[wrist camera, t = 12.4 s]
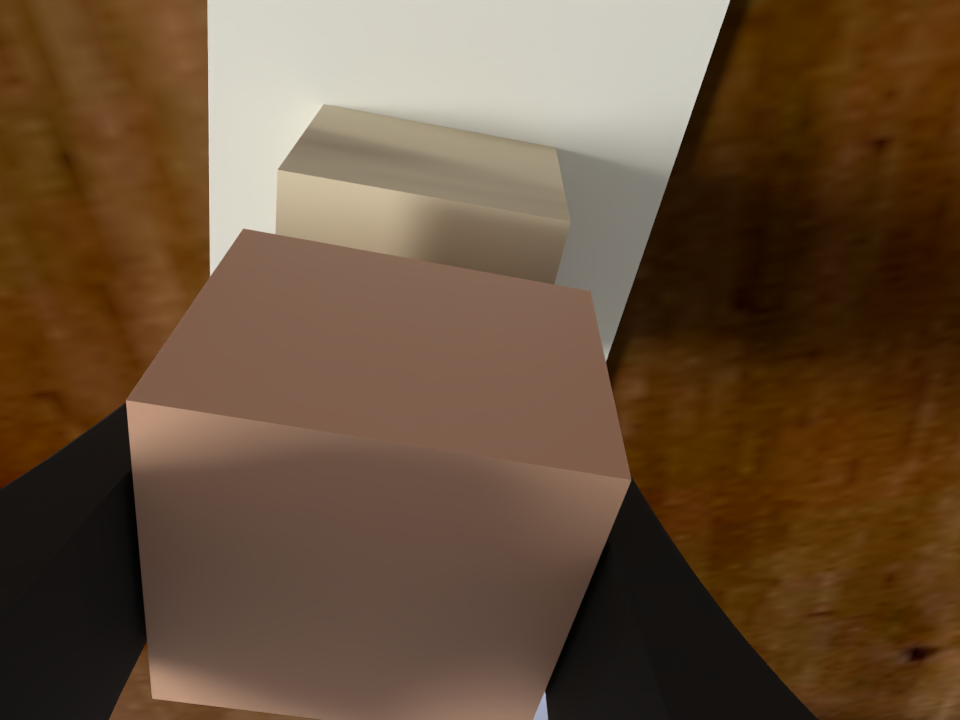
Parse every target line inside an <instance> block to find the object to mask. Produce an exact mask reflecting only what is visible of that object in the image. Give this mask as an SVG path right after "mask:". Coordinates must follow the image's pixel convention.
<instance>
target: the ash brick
mask: <svg viewBox="0 0 960 720" xmlns="http://www.w3.org/2000/svg"><path fill="white" fill-rule="evenodd" d="M570 223H571V220H570V215H569V210H568V205H567V201H566V196H565V191H564V186H563V181H562V176H561V171H560V166H559V162H558V157H557V152H556V147H551V146H545V145H540V144H535V143H529V142H524V141H518V140H513V139H508V138H502V137H497V136H491V135H486V134H481V133H475V132H470V131H464V130H459V129H454V128H448V127H443V126H438V125H432V124H427V123H421V122H416V121H411V120H405V119H400V118H394V117H389V116H384V115H378V114H373V113H368V112H362V111H357V110H351V109H346V108H341V107H335V106H330V105H324V104H323V106H322V107H321V109H320V110H319V111H318V113H317V114H316V116H315V117H314V119H313V120H312V121H311V123H310V124H309V126H308V127H307V129H306V130H305V131H304V133H303V134H302V136H301V137H300V138H299V140H298V141H297V143H296V144H295V146H294V147H293V148H292V150H291V151H290V153H289V154H288V155H287V157H286V158H285V160H284V161H283V163H282V164H281V165H280V167H279V168H278V170H277V201H276V233H275V234H277V235H283V236H288V237H294V238H299V239H305V240H310V241H316V242H321V243H327V244H332V245H338V246H344V247H349V248H355V249H360V250H366V251H371V252H377V253H382V254H388V255H393V256H399V257H405V258H410V259H416V260H421V261H427V262H432V263H438V264H443V265H449V266H454V267H460V268H466V269H471V270H477V271H482V272H488V273H493V274H499V275H504V276H510V277H515V278H521V279H527V280H532V281H538V282H543V283H549V284H554V283H555V280H556V276H557V272H558V268H559V265H560V261H561V257H562V253H563V250H564V246H565V242H566V238H567V234H568V231H569V227H570Z"/></svg>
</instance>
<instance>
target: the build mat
mask: <svg viewBox="0 0 960 720" xmlns="http://www.w3.org/2000/svg"><path fill="white" fill-rule="evenodd" d="M729 2H730V0H208V97H209V207H210V276H211V275H212V273H213V272H214V270H215V269H216V268H217V266H218V265H219V263H220V262H221V260H222V259H223V257H224V256H225V254H226V253H227V251H228V250H229V249H230V247H231V246H232V244H233V243H234V241H235V240H236V238H237V237H238V235H239V234H240V232H241V231H242V229H243V228H244V229H249V230H255V231H260V232H266V233H271V234H275V233H276V201H277V170H278V168H279V167H280V165H281V164H282V163H283V161H284V160H285V158H286V157H287V155H288V154H289V153H290V151H291V150H292V148H293V147H294V146H295V144H296V143H297V141H298V140H299V138H300V137H301V136H302V134H303V133H304V131H305V130H306V129H307V127H308V126H309V124H310V123H311V121H312V120H313V119H314V117H315V116H316V114H317V113H318V111H319V110H320V109H321V107H322V106H323V104H324V105H330V106H335V107H341V108H346V109H351V110H357V111H362V112H368V113H373V114H378V115H384V116H389V117H394V118H400V119H405V120H411V121H416V122H421V123H427V124H432V125H438V126H443V127H448V128H454V129H459V130H464V131H470V132H475V133H481V134H486V135H491V136H497V137H502V138H508V139H513V140H518V141H524V142H529V143H535V144H540V145H545V146H551V147H556V152H557V157H558V162H559V166H560V171H561V176H562V181H563V186H564V191H565V196H566V201H567V205H568V210H569V215H570V220H571V223H570V227H569V231H568V234H567V238H566V242H565V246H564V250H563V253H562V257H561V261H560V265H559V268H558V272H557V276H556V280H555V283H554V285H560V286H565V287H571V288H576V289H582V290H588V291H590V292H591V296H592V301H593V306H594V310H595V315H596V319H597V324H598V329H599V333H600V338H601V342H602V347H603V352H604V356H605V361H606V360H607V357H608V354H609V352H610V349H611V346H612V343H613V340H614V337H615V334H616V331H617V328H618V325H619V322H620V320H621V317H622V314H623V311H624V308H625V305H626V302H627V299H628V296H629V293H630V290H631V288H632V285H633V282H634V279H635V276H636V273H637V270H638V267H639V264H640V261H641V258H642V255H643V253H644V250H645V247H646V244H647V241H648V238H649V235H650V232H651V229H652V226H653V223H654V221H655V218H656V215H657V212H658V209H659V206H660V203H661V200H662V197H663V194H664V191H665V189H666V186H667V183H668V180H669V177H670V174H671V171H672V168H673V165H674V162H675V159H676V157H677V154H678V151H679V148H680V145H681V142H682V139H683V136H684V133H685V130H686V127H687V125H688V122H689V119H690V116H691V113H692V110H693V107H694V104H695V101H696V98H697V95H698V92H699V90H700V87H701V84H702V81H703V78H704V75H705V72H706V69H707V66H708V63H709V60H710V58H711V55H712V52H713V49H714V46H715V43H716V40H717V37H718V34H719V31H720V28H721V26H722V23H723V20H724V17H725V14H726V11H727V8H728V5H729Z"/></svg>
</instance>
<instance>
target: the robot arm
mask: <svg viewBox="0 0 960 720" xmlns="http://www.w3.org/2000/svg"><path fill="white" fill-rule="evenodd" d="M630 476H631V475H630ZM146 641H147V633H146V622H145V611H144V599H143V588H142V577H141V565H140V554H139V543H138V531H137V520H136V509H135V498H134V486H133V475H132V464H131V452H130V441H129V430H128V418H127V407H126V403H124V404H123V405H122V406H120V407H119V408H118V409H116V410H115V411H114V412H112V413H111V414H109V415H108V416H107V417H105V418H104V419H103V420H101V421H100V422H99V423H97V424H96V425H95V426H93V427H92V428H90V429H89V430H88V431H86V432H85V433H83V434H82V435H80V436H79V437H78V438H76V439H75V440H73V441H72V442H71V443H69V444H68V445H66V446H65V447H63V448H62V449H61V450H59V451H58V452H56V453H55V454H53V455H52V456H51V457H49V458H48V459H46V460H45V461H43V462H42V463H40V464H39V465H37V466H36V467H34V468H33V469H31V470H30V471H28V472H27V473H25V474H24V475H22V476H20V477H19V478H17V479H16V480H14V481H13V482H11V483H10V484H8V485H6V486H5V487H3V488H2V489H0V720H109V718H110V716H111V714H112V711H113V709H114V707H115V705H116V702H117V700H118V698H119V696H120V694H121V692H122V690H123V688H124V686H125V684H126V682H127V680H128V678H129V676H130V674H131V672H132V670H133V668H134V666H135V664H136V662H137V660H138V657H139V655H140V653H141V651H142V649H143V647H144V645H145V643H146ZM533 720H818V719H817V718H816V717H815V716H814V715H813V714H812V713H811V712H810V711H809V710H808V709H807V708H806V707H805V706H804V704H803V703H802V702H801V701H800V700H799V699H798V698H797V697H796V696H795V695H794V694H793V693H792V692H791V691H790V690H789V689H788V687H787V686H786V685H785V684H784V683H783V682H782V681H781V680H780V679H779V677H778V676H777V675H776V674H775V673H774V672H773V671H772V669H771V668H770V667H769V666H768V665H767V664H766V663H765V661H764V660H763V659H762V658H761V657H760V656H759V655H758V653H757V652H756V651H755V650H754V649H753V648H752V647H751V645H750V644H749V643H748V642H747V641H746V640H745V638H744V637H743V636H742V635H741V633H740V632H739V631H738V630H737V629H736V627H735V626H734V625H733V624H732V622H731V621H730V620H729V619H728V617H727V616H726V615H725V613H724V612H723V611H722V609H721V608H720V607H719V606H718V604H717V603H716V602H715V600H714V599H713V598H712V596H711V595H710V594H709V592H708V591H707V590H706V588H705V587H704V586H703V585H702V583H701V582H700V580H699V579H698V578H697V576H696V575H695V573H694V572H693V571H692V569H691V568H690V566H689V565H688V563H687V562H686V560H685V559H684V557H683V556H682V555H681V553H680V552H679V550H678V549H677V547H676V546H675V544H674V543H673V541H672V540H671V538H670V537H669V535H668V534H667V532H666V531H665V529H664V528H663V526H662V525H661V523H660V522H659V520H658V519H657V517H656V515H655V514H654V512H653V511H652V509H651V507H650V506H649V504H648V503H647V501H646V499H645V498H644V496H643V495H642V493H641V491H640V490H639V488H638V487H637V485H636V483H635V482H634V480H633V478H632V477H631V482H630V485H629V487H628V490H627V492H626V494H625V497H624V499H623V502H622V504H621V507H620V509H619V511H618V514H617V516H616V519H615V521H614V524H613V526H612V529H611V531H610V533H609V536H608V538H607V541H606V543H605V546H604V548H603V550H602V553H601V555H600V558H599V560H598V563H597V565H596V568H595V570H594V572H593V575H592V577H591V580H590V582H589V585H588V587H587V589H586V592H585V594H584V597H583V599H582V602H581V604H580V607H579V609H578V611H577V614H576V616H575V619H574V621H573V624H572V626H571V628H570V631H569V633H568V636H567V638H566V641H565V643H564V646H563V648H562V650H561V653H560V655H559V658H558V660H557V663H556V665H555V667H554V670H553V672H552V675H551V677H550V680H549V682H548V685H547V687H546V689H545V692H544V694H543V697H542V699H541V702H540V704H539V706H538V709H537V711H536V714H535V716H534V719H533Z"/></svg>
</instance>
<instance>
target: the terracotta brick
mask: <svg viewBox="0 0 960 720" xmlns="http://www.w3.org/2000/svg"><path fill="white" fill-rule="evenodd" d="M126 407H127V418H128V430H129V441H130V452H131V464H132V475H133V486H134V498H135V509H136V520H137V531H138V543H139V554H140V565H141V577H142V588H143V599H144V611H145V622H146V633H147V644H148V656H149V667H150V678H151V690H152V698H153V699H161V700H169V701H177V702H185V703H193V704H201V705H209V706H217V707H226V708H234V709H242V710H250V711H258V712H266V713H274V714H282V715H290V716H298V717H307V718H315V719H323V720H533V719H534V716H535V714H536V711H537V709H538V706H539V704H540V702H541V699H542V697H543V694H544V692H545V689H546V687H547V685H548V682H549V680H550V677H551V675H552V672H553V670H554V667H555V665H556V663H557V660H558V658H559V655H560V653H561V650H562V648H563V646H564V643H565V641H566V638H567V636H568V633H569V631H570V628H571V626H572V624H573V621H574V619H575V616H576V614H577V611H578V609H579V607H580V604H581V602H582V599H583V597H584V594H585V592H586V589H587V587H588V585H589V582H590V580H591V577H592V575H593V572H594V570H595V568H596V565H597V563H598V560H599V558H600V555H601V553H602V550H603V548H604V546H605V543H606V541H607V538H608V536H609V533H610V531H611V529H612V526H613V524H614V521H615V519H616V516H617V514H618V511H619V509H620V507H621V504H622V502H623V499H624V497H625V494H626V492H627V490H628V487H629V485H630V482H631V476H630V471H629V467H628V462H627V457H626V453H625V448H624V444H623V439H622V434H621V430H620V425H619V421H618V416H617V411H616V407H615V402H614V398H613V393H612V388H611V384H610V379H609V375H608V370H607V365H606V361H605V356H604V352H603V347H602V342H601V338H600V333H599V329H598V324H597V319H596V315H595V310H594V306H593V301H592V296H591V292H590V291H588V290H582V289H576V288H571V287H565V286H560V285H554V284H549V283H543V282H538V281H532V280H527V279H521V278H515V277H510V276H504V275H499V274H493V273H488V272H482V271H477V270H471V269H466V268H460V267H454V266H449V265H443V264H438V263H432V262H427V261H421V260H416V259H410V258H405V257H399V256H393V255H388V254H382V253H377V252H371V251H366V250H360V249H355V248H349V247H344V246H338V245H332V244H327V243H321V242H316V241H310V240H305V239H299V238H294V237H288V236H283V235H277V234H271V233H266V232H260V231H255V230H249V229H244V228H243V229H242V231H241V232H240V234H239V235H238V237H237V238H236V240H235V241H234V243H233V244H232V246H231V247H230V249H229V250H228V251H227V253H226V254H225V256H224V257H223V259H222V260H221V262H220V263H219V265H218V266H217V268H216V269H215V270H214V272H213V273H212V275H211V276H210V278H209V279H208V281H207V282H206V284H205V285H204V287H203V288H202V290H201V291H200V292H199V294H198V295H197V297H196V298H195V300H194V301H193V303H192V304H191V306H190V307H189V309H188V310H187V311H186V313H185V314H184V316H183V317H182V319H181V320H180V322H179V323H178V325H177V326H176V328H175V329H174V331H173V332H172V333H171V335H170V336H169V338H168V339H167V341H166V342H165V344H164V345H163V347H162V348H161V350H160V351H159V352H158V354H157V355H156V357H155V358H154V360H153V361H152V363H151V364H150V366H149V367H148V369H147V370H146V372H145V373H144V374H143V376H142V377H141V379H140V380H139V382H138V383H137V385H136V386H135V388H134V389H133V391H132V392H131V393H130V395H129V396H128V398H127V399H126Z"/></svg>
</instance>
